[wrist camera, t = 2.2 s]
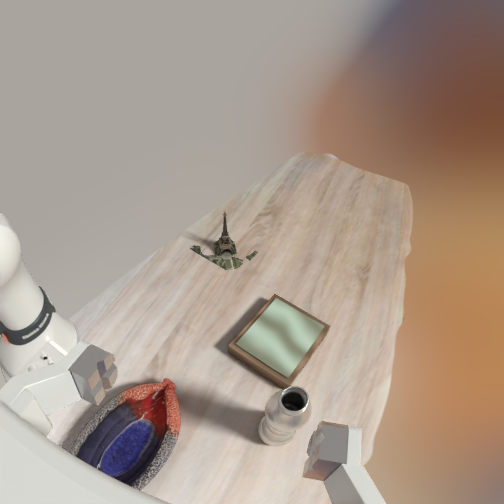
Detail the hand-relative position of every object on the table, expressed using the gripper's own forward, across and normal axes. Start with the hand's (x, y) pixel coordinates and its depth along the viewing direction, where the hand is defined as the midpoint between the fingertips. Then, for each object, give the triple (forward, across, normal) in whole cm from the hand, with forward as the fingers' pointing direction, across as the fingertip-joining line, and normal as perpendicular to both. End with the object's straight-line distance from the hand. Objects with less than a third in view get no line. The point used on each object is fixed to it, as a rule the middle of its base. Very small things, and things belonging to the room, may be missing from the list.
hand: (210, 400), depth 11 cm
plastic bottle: (+24, +7, -41) cm, 48 cm away
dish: (+12, -17, -46) cm, 50 cm away
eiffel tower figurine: (+63, -17, -30) cm, 72 cm away
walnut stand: (+41, +3, -36) cm, 55 cm away
